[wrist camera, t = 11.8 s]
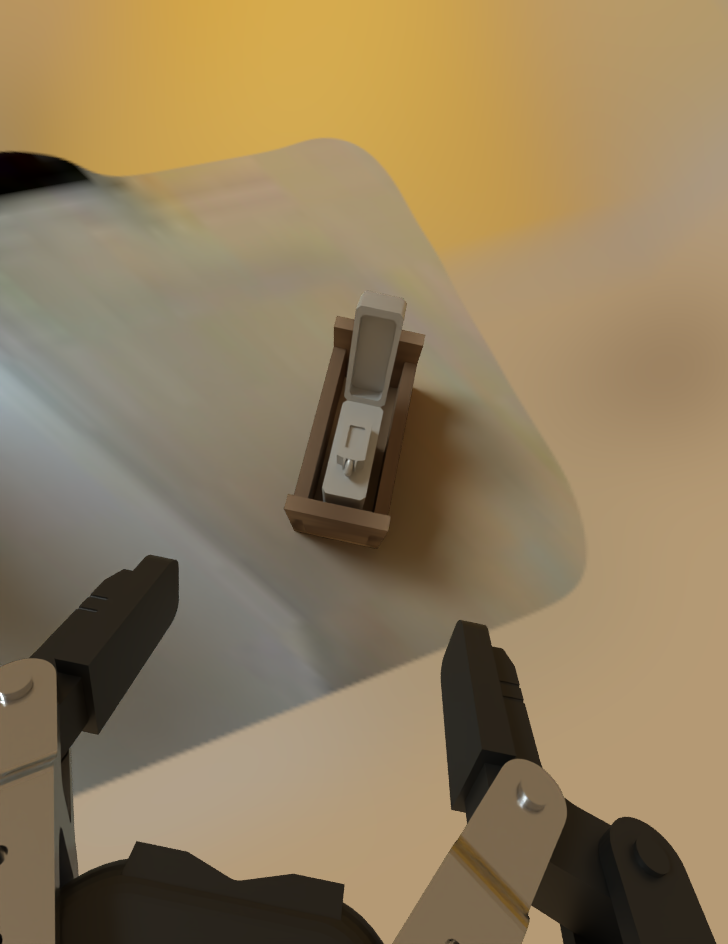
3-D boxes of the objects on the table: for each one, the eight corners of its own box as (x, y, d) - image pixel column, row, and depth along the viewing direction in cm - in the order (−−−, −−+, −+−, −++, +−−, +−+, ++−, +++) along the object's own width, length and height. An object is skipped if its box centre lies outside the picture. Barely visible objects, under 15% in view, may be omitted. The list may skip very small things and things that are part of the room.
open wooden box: (294, 530, 21) (284, 508, 17) (336, 369, 24) (336, 315, 20) (377, 548, 21) (388, 531, 17) (408, 385, 24) (425, 334, 20)
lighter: (358, 523, 21) (373, 470, 13) (323, 516, 21) (317, 458, 13) (385, 395, 23) (410, 288, 16) (353, 389, 23) (363, 278, 16)
